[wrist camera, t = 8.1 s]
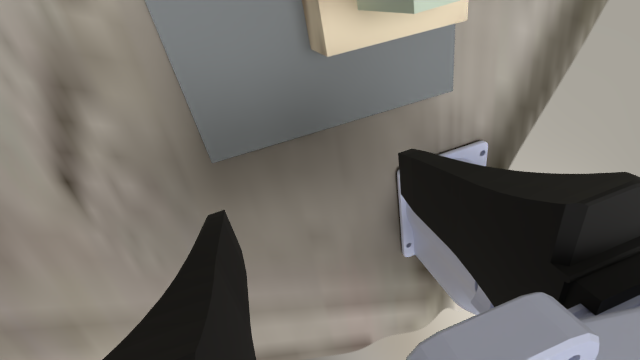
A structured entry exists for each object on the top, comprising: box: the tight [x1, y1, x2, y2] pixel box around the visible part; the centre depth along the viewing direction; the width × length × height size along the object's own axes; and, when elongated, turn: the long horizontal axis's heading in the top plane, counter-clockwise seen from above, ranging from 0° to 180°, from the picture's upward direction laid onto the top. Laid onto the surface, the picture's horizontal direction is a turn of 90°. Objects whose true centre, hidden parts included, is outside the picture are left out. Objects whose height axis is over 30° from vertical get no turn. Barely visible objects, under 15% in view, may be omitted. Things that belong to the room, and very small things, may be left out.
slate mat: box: [145, 0, 455, 163], centre depth 18 cm, size 14×17×1 cm
